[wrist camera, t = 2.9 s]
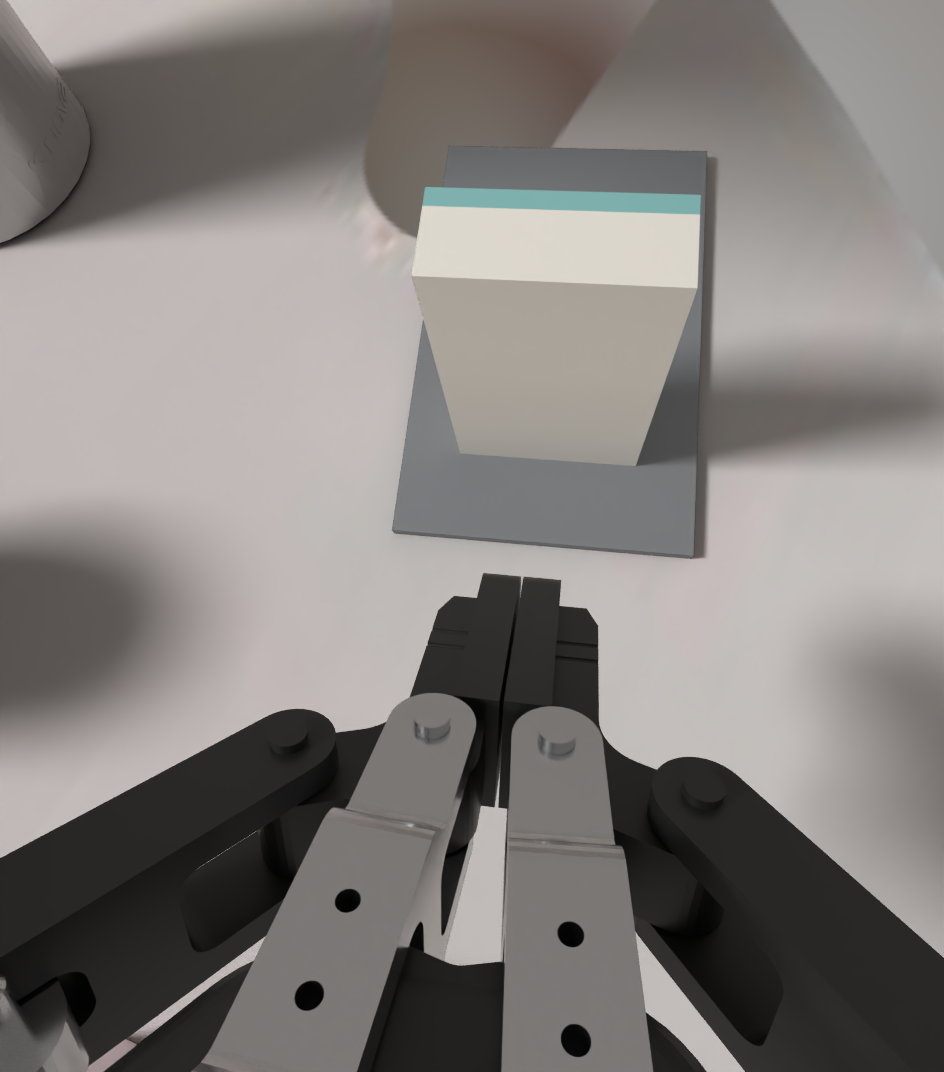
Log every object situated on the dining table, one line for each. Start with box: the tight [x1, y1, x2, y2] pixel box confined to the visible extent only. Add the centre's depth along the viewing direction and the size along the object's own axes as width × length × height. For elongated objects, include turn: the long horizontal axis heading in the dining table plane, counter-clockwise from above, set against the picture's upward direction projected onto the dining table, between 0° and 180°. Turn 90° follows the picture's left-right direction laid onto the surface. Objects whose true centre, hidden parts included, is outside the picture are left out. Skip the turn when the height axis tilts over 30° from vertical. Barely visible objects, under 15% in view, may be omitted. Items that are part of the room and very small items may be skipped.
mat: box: [392, 146, 707, 559], centre depth 26 cm, size 10×16×1 cm, turn 173°
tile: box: [412, 187, 701, 466], centre depth 20 cm, size 6×2×10 cm, turn 84°
